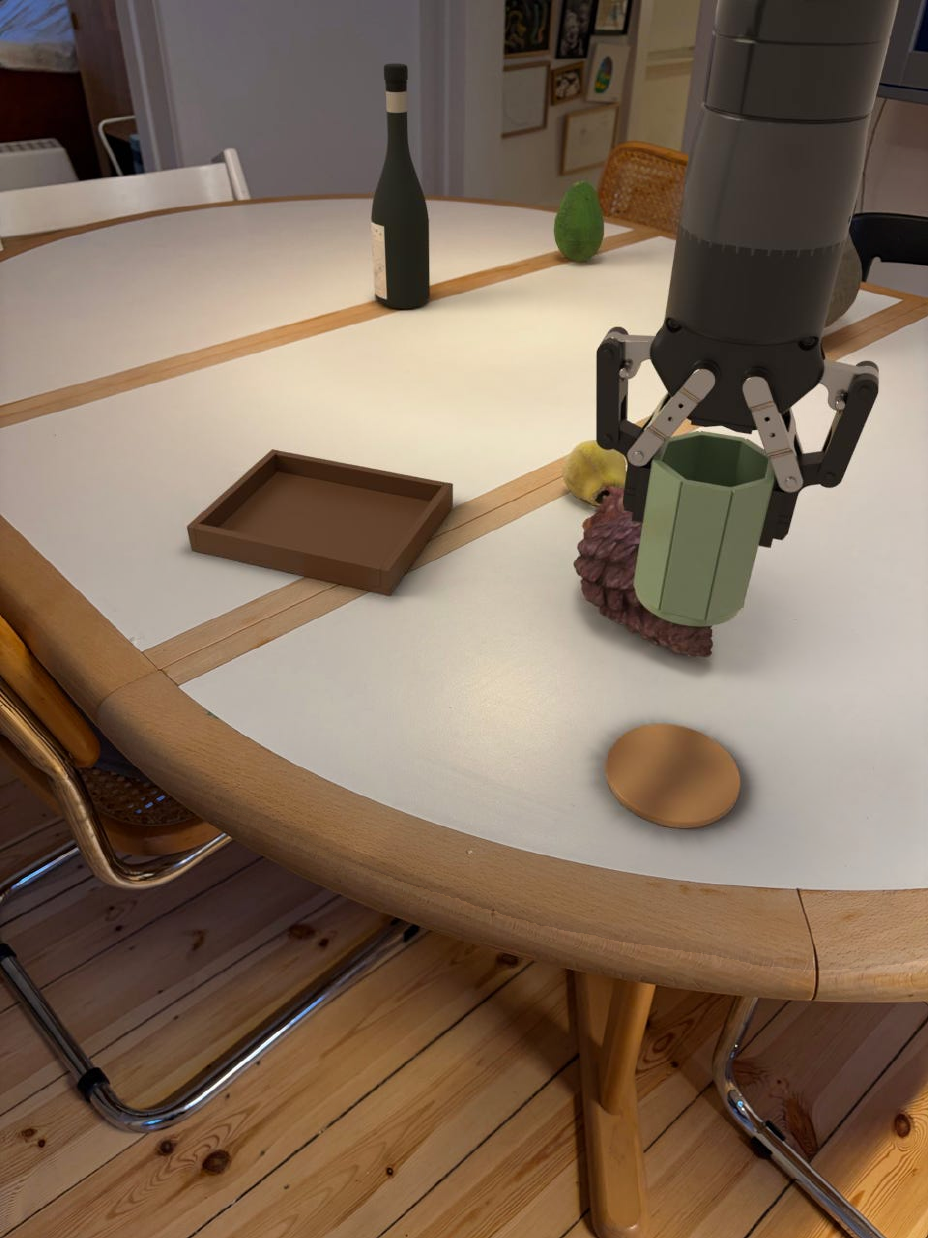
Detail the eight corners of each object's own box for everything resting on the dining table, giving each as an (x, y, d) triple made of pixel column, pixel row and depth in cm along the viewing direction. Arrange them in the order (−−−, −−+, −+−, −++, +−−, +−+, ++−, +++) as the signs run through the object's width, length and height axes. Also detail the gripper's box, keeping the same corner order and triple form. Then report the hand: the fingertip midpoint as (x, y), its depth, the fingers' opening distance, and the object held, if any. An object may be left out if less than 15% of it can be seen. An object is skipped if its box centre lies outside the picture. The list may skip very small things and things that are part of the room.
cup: (625, 613, 54) (645, 476, 49) (645, 555, 59) (666, 424, 53) (737, 637, 53) (770, 498, 47) (749, 575, 57) (781, 443, 52)
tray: (191, 550, 85) (186, 526, 83) (275, 471, 96) (272, 448, 95) (389, 595, 80) (388, 570, 78) (453, 506, 91) (453, 483, 90)
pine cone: (762, 649, 74) (750, 596, 66) (654, 712, 76) (629, 668, 67) (652, 496, 84) (629, 433, 75) (557, 555, 85) (524, 499, 76)
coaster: (591, 806, 62) (592, 800, 61) (620, 717, 68) (621, 711, 68) (730, 844, 59) (731, 838, 59) (745, 748, 66) (747, 742, 66)
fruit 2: (595, 533, 88) (541, 473, 94) (641, 532, 91) (586, 474, 97) (621, 482, 84) (564, 423, 90) (668, 483, 88) (609, 426, 94)
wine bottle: (371, 310, 133) (359, 68, 115) (378, 291, 139) (368, 59, 121) (427, 311, 133) (424, 69, 114) (432, 293, 139) (430, 60, 121)
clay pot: (830, 370, 118) (863, 248, 109) (668, 339, 126) (685, 223, 117) (858, 316, 134) (888, 205, 124) (711, 291, 141) (730, 185, 132)
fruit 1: (578, 250, 156) (585, 172, 149) (610, 262, 151) (619, 183, 144) (542, 258, 153) (547, 179, 145) (573, 271, 148) (580, 190, 140)
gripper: (590, 223, 42) (562, 538, 52) (935, 260, 38) (831, 591, 48) (624, 184, 47) (593, 475, 58) (928, 213, 43) (837, 518, 54)
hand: (702, 527), depth 53 cm, fingers closed on cup, 6 cm apart
